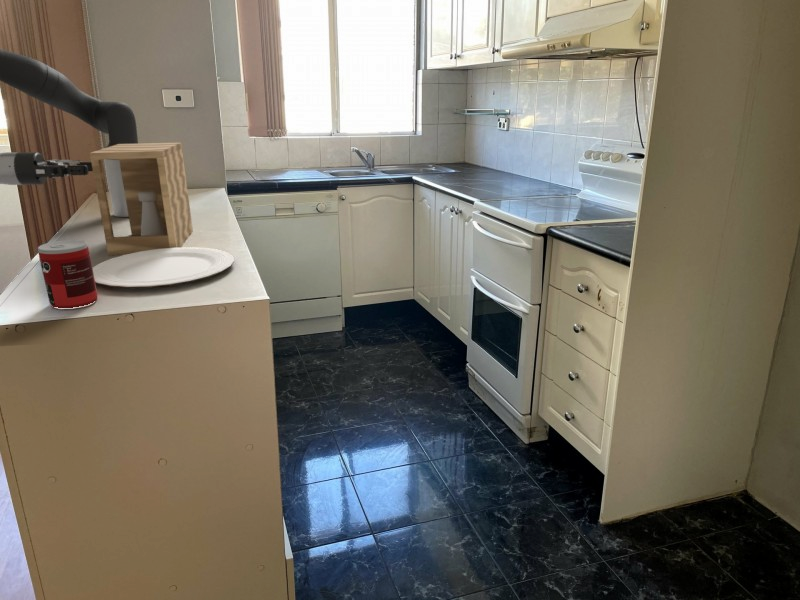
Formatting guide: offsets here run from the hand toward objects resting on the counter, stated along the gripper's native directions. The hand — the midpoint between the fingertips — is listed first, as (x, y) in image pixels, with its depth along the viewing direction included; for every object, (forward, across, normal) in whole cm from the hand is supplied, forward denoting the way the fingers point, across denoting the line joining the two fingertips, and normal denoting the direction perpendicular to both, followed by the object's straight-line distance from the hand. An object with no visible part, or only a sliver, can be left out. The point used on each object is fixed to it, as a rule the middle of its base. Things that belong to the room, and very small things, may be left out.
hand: (93, 168), depth 144 cm
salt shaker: (+12, 0, +19) cm, 22 cm away
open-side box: (+12, 0, +18) cm, 22 cm away
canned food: (+7, -45, +20) cm, 50 cm away
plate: (+19, -27, +20) cm, 39 cm away
